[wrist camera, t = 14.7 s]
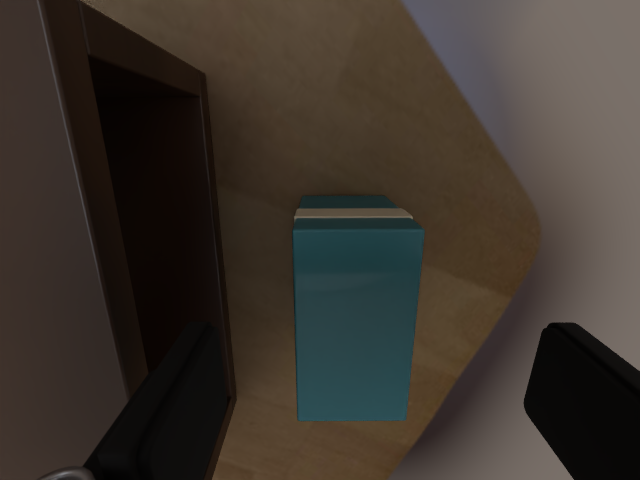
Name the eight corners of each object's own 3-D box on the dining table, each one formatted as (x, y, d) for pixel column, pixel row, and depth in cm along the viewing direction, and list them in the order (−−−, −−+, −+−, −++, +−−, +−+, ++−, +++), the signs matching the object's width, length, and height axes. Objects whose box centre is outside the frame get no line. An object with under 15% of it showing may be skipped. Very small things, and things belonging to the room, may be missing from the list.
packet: (386, 194, 18) (427, 227, 11) (378, 328, 20) (407, 422, 14) (300, 194, 18) (290, 227, 11) (303, 329, 20) (296, 423, 13)
